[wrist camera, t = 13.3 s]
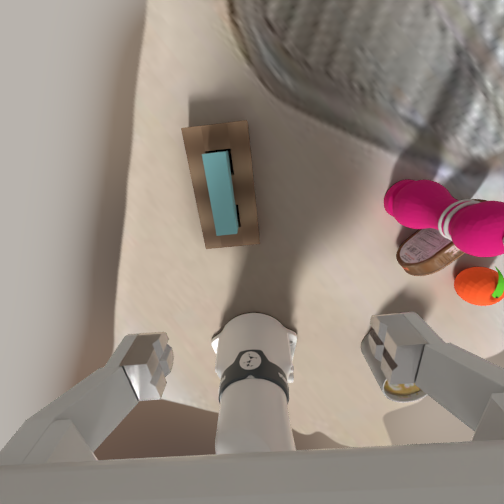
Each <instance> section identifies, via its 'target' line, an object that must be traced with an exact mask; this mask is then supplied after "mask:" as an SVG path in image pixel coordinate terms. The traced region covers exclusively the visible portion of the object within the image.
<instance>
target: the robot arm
mask: <svg viewBox="0 0 504 504" xmlns="http://www.w3.org/2000/svg"><path fill="white" fill-rule="evenodd" d="M370 324H371V326H372V328H373V329H372V330H371V331H370V332H369V339H368V340H369V346H370V349H371V352H372V354H373V355H374V357H375V358H376V359H377V360H379V361H380V362H381V370H382V371H383V373H384V375H385V377H386V378H387V380H388V382H389V384H412V383H415V385H416V386H417V387H419V388H420V389H421V390H422V391H424V392H425V393H426V394H427V395H429V396H430V397H431V398H433V399H434V400H435V401H436V402H438V403H439V404H440V405H441V406H443V407H444V408H445V409H447V410H448V411H449V412H450V413H452V414H453V415H454V416H456V417H457V418H458V419H459V420H461V421H462V422H463V423H464V424H466V425H467V426H468V427H470V428H471V429H472V430H473V431H475V432H474V435H473V437H472V439H471V441H470V442H451V443H431V444H412V445H392V446H373V447H353V448H335V449H316V450H296V448H295V444H294V439H293V434H292V429H291V424H290V418H289V412H288V402H289V387H288V383H287V382H289V383H292V382H293V379H294V377H293V371H294V368H293V364H292V360H293V356H294V351H295V347H296V342H297V334H296V333H295V332H294V331H292V330H289V329H287V328H285V327H284V326H283V325H282V324H281V323H280V322H279V321H277V320H276V319H275V318H273V317H271V316H268V315H265V314H260V313H247V314H243V315H240V316H237V317H235V318H233V319H232V320H230V321H229V322H228V323H227V324H226V325H225V327H224V329H223V330H222V332H221V333H220V334H218V335H217V336H215V337H214V338H213V339H212V343H211V345H212V347H213V349H214V351H215V353H216V364H215V372H217V374H218V376H219V378H220V379H221V382H220V386H219V402H220V410H219V418H218V426H217V434H216V441H215V449H216V455H197V456H177V457H159V458H158V457H157V458H137V459H119V460H98V459H97V458H96V456H95V455H94V453H93V452H94V451H95V449H96V448H97V447H98V446H99V445H100V444H101V443H102V442H103V441H104V439H106V437H107V436H108V435H109V434H110V433H111V432H112V431H113V430H114V429H115V428H116V427H117V425H118V424H119V423H120V422H121V421H122V420H123V419H124V418H125V417H126V416H127V414H128V413H129V412H130V411H131V410H132V409H133V408H134V407H135V406H136V405H137V403H138V401H143V400H144V401H145V400H155V399H161V397H162V394H163V391H164V389H165V386H166V383H167V382H166V379H165V377H166V376H167V375H168V374H169V373H170V372H171V369H172V366H173V359H174V356H173V350H172V347H170V346H169V345H168V344H167V343H168V340H169V338H168V336H167V333H165V332H153V333H140V334H128V335H126V336H125V337H124V339H123V340H122V342H121V343H120V344H119V346H118V347H117V349H116V350H115V352H114V353H113V355H112V356H111V358H110V359H109V361H108V362H107V364H106V365H105V367H104V368H100V369H98V370H96V371H95V372H94V373H92V374H91V375H89V376H88V377H87V378H85V379H84V380H82V381H81V382H80V383H78V384H77V385H75V386H74V387H73V388H71V389H70V390H68V391H67V392H66V393H64V394H63V395H61V396H60V397H58V398H57V399H56V400H54V401H53V402H51V403H50V404H49V405H47V406H46V407H44V408H43V409H41V410H40V411H39V412H37V413H36V414H34V415H33V416H32V417H30V418H29V419H27V420H26V421H25V422H24V424H23V425H22V426H21V427H20V428H19V430H18V431H17V432H16V433H15V434H14V436H13V437H12V438H11V439H10V440H9V442H8V443H7V444H6V446H5V447H4V448H3V449H2V450H1V451H0V504H504V368H502V367H500V366H498V365H495V364H494V363H491V362H489V361H487V360H485V359H483V358H481V357H479V356H477V355H475V354H473V353H470V352H468V351H466V350H464V349H462V348H460V347H458V346H456V345H454V344H452V343H445V342H444V341H443V340H442V339H441V338H440V337H439V336H438V335H437V334H436V333H435V332H434V331H433V330H432V328H431V327H430V326H429V325H428V324H427V323H426V322H425V321H424V320H423V319H422V318H421V317H420V316H419V315H418V314H417V313H415V312H404V313H395V314H384V315H372V317H371V321H370Z"/></svg>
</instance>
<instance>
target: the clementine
mask: <svg viewBox="0 0 504 504" xmlns="http://www.w3.org/2000/svg"><path fill="white" fill-rule="evenodd" d="M495 268H496V267H495ZM496 269H497V268H496ZM497 271H498V272H496V271H494V270H492V269H489V268H486V267H471V268H467V269H465V270H463V271H461V272H460V273H459V274H458V275H457V276H456V278H455V281H454V288H455V290H456V292H457V294H458V295H459V296H460V297H461V298H462V299H463V300H465V301H467V302H469V303H471V304H475V305H481V306H486V305H492V304H495V303H497V302H499V301H500V300H502V299H503V298H504V278H503V275H502V274H501V272H500V271H499V270H498V269H497Z"/></svg>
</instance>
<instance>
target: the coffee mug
mask: <svg viewBox="0 0 504 504" xmlns="http://www.w3.org/2000/svg"><path fill="white" fill-rule="evenodd" d="M368 339H369V334H367V335H366V336H365V338H364V339H363V341H362V343H361V351H362V353H363V355H364V357H365V359H366V361H367V363H368V365H369V367H370V369H371V371H372V373H373V374H374V376H375V378H376V380H377V382H378V384H379V386H380V388H381V390H382V392H383V394H384V395H385V396H386V397H387V398H388V399H390V400H392V401H395V402H412V401H416V400H419V399H421V398H424V397H425V396H427V394H426V393H425V392H424V391H422V390H421V389H420V388H419V387H417V386H416V385H415V383H412V384H389V382H388V380H387V378H386V377H385V375H384V373H383V371H382V370H381V362H380V361H379V360H377V359H376V358H375V357H374V355H373V354H372V352H371V349H370V346H369V340H368Z"/></svg>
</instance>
